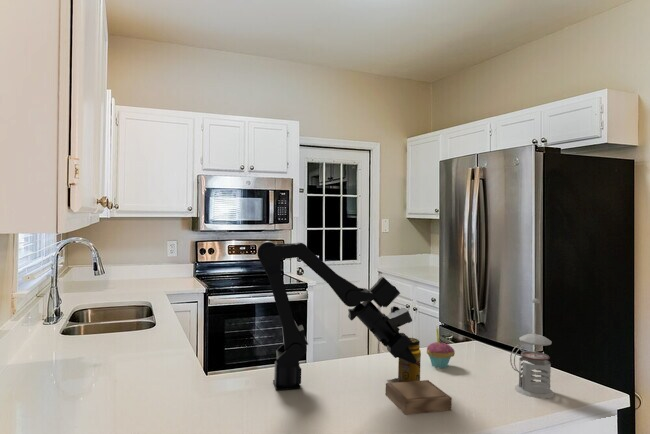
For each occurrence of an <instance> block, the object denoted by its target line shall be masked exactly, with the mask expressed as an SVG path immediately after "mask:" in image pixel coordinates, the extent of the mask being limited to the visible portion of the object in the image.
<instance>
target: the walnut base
mask: <svg viewBox="0 0 650 434" xmlns="http://www.w3.org/2000/svg"><path fill="white" fill-rule="evenodd" d="M385 397H387V398H388V399H389V400H390V402H392V403H393V404H394V405H395V406H396V407H397V408H398V409H399V410H400V411H401V412H402V413H403V414H404V415H411V414H412V415H414V414H425V413H426V414H427V413H434V412H435V413H436V412H446V411H452V400H453V399H452V397H451V396H450V395H449V394H447V392H445V391H443V390H442V389H441V388H439V387H438V386H437V385H435V384H434V383H432V382H431V381H430V380H428V379H426V380H420V381H409V382H395V383H390V382H385Z"/></svg>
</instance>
